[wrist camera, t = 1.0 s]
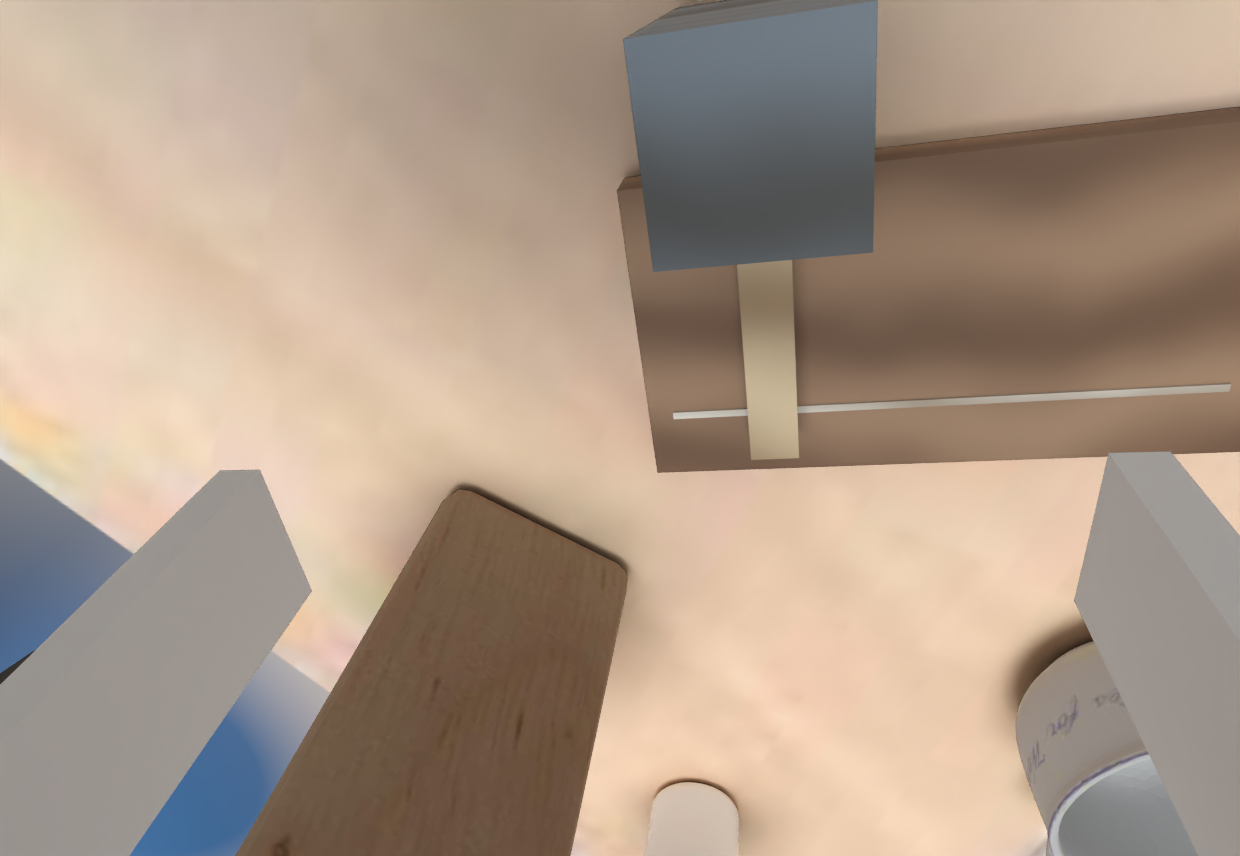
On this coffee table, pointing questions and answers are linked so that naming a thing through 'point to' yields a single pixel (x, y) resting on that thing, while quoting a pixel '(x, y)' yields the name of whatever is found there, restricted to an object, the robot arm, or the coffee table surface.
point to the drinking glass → (692, 822)
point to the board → (982, 308)
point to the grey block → (758, 163)
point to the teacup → (1093, 766)
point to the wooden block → (460, 702)
